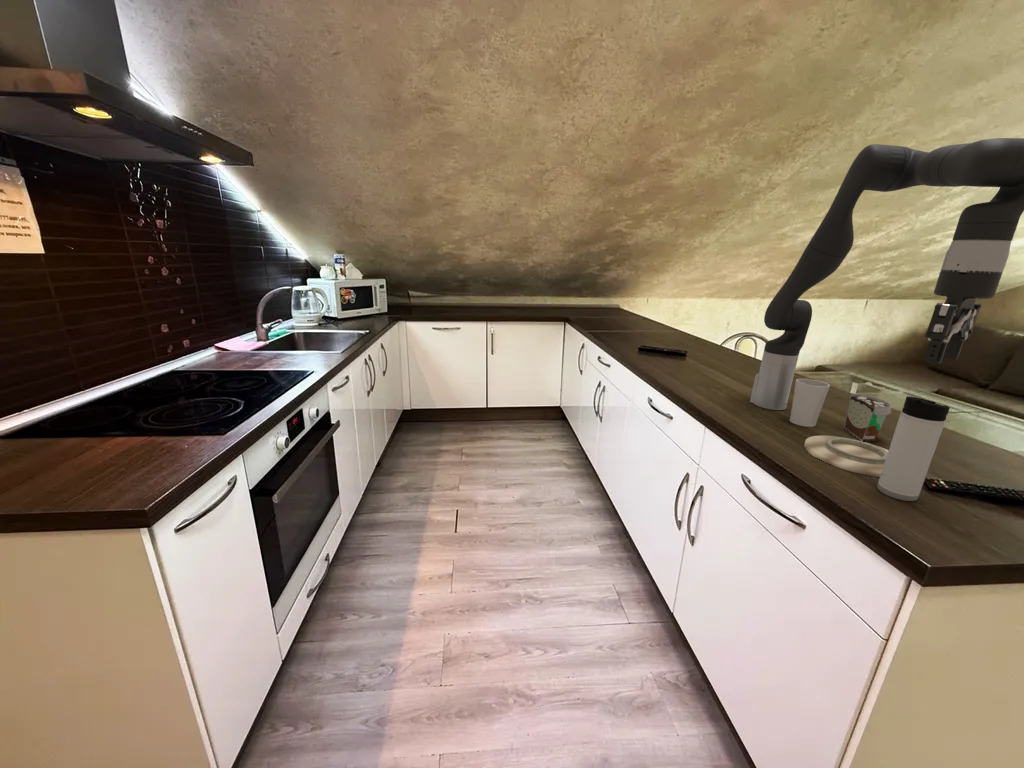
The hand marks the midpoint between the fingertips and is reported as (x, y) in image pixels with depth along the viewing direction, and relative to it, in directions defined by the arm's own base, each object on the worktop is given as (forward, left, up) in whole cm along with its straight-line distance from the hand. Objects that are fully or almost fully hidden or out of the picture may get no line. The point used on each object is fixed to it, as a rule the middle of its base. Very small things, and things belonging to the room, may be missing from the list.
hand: (940, 360), depth 79 cm
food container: (-17, +31, -28) cm, 45 cm away
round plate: (-12, +12, -27) cm, 32 cm away
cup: (-30, +25, -28) cm, 48 cm away
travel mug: (0, 0, -28) cm, 28 cm away
